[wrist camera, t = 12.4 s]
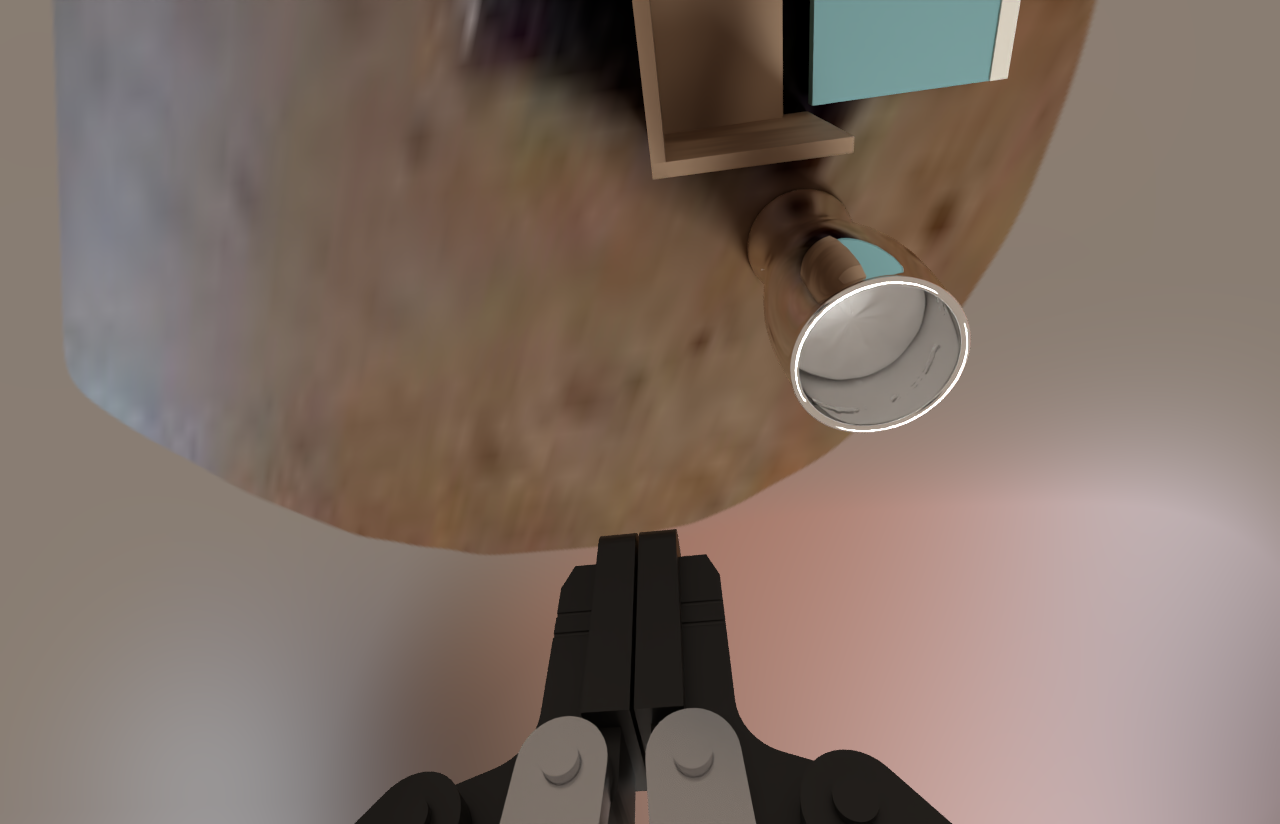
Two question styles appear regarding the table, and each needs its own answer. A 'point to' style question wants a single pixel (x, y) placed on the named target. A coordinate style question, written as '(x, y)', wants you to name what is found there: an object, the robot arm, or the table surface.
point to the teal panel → (906, 45)
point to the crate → (721, 89)
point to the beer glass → (854, 316)
